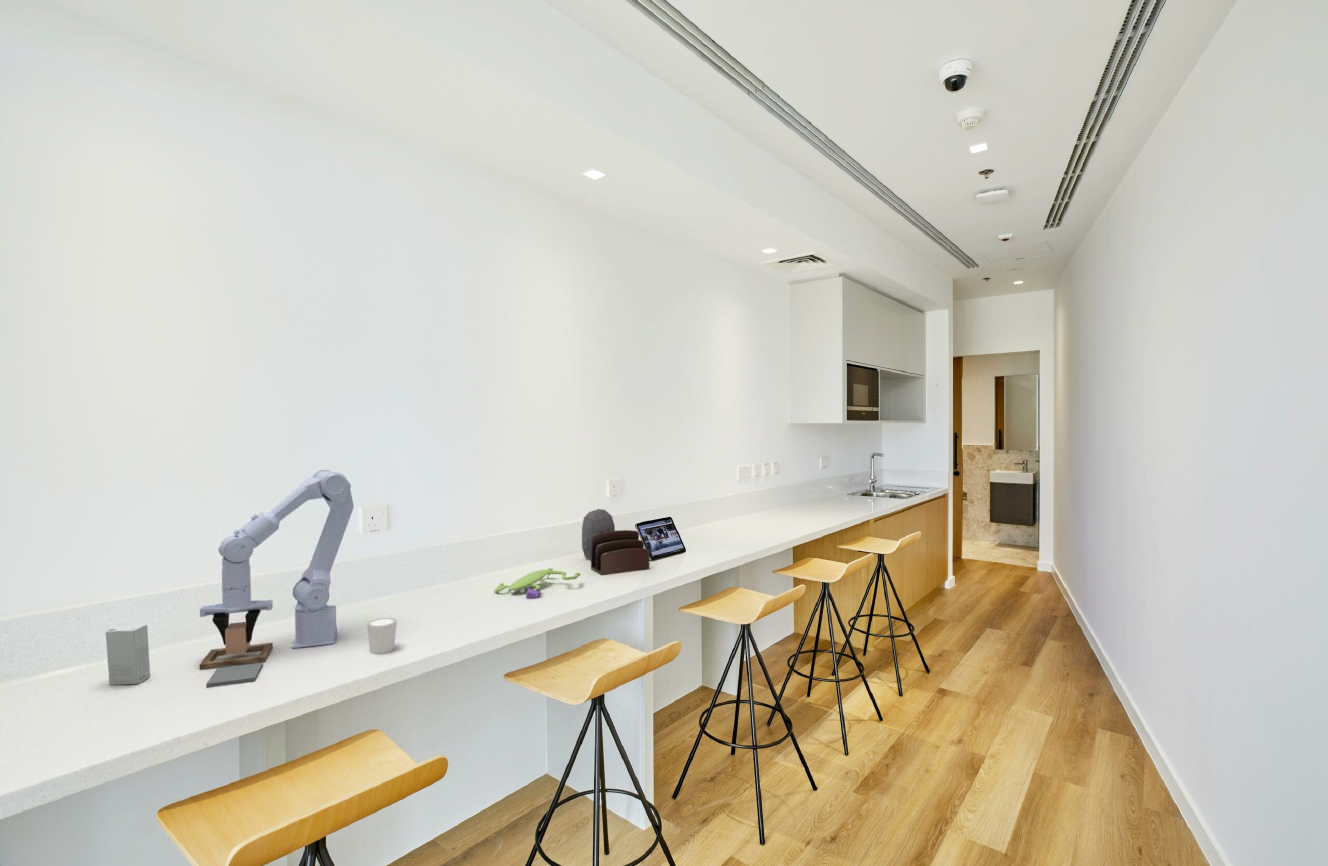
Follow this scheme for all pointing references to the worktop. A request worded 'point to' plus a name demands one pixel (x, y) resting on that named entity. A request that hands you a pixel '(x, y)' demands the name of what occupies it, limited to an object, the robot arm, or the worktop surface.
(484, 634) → the worktop surface
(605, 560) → the letter holder
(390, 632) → the light grey cup
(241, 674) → the slate mat
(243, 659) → the walnut frame
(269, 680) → the worktop surface
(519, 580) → the figurine
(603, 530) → the small grey backpack
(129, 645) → the skincare box
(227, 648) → the terracotta block
